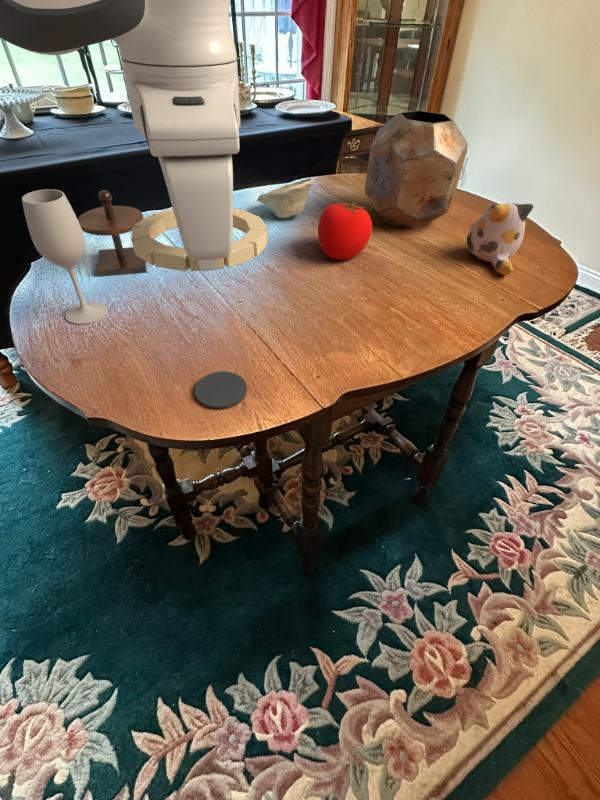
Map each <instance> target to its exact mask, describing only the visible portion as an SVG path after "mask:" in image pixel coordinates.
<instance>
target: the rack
mask: <svg viewBox="0 0 600 800" xmlns="http://www.w3.org/2000/svg"><path fill="white" fill-rule="evenodd" d="M98 200H99V201H100V203H102V206H99V207H96V208H92V209H89V210H87V211H85V212H83V213H82V214H80V215H79V217H77V220H78V222H79V224H80V226H81V229H82V231H83V233H86V234H89V235H93V236H100V237H101V236H105V237H107V236H111V239H112V243H113V246H114V248H104V249H99V250H98V254H97V260H96V266H95V274H96V277H97V278H98V277H107V276H109V277H110V276H120V275H132V274H143V273H148V268H147V267H148V262H146V261H145V260H143V259H141V258H140V257H138V256H137V255H136V254H135V252H134V249H133V246H132V247H123V242H122V239H121V235H122V234H127V233H131V232H132V227H134V225H135V224H137V223H138V222H140V221H141V220H143V219H144V218H145V217H144V215H143V212H142V211H141V210H140V209H139V208H138V209H137V208H135V207H133V206H127V205H113V203H112V200H113V196H112V193H111V192H109V191H108V190H106V189H102V190H100V191H99V192H98Z"/></svg>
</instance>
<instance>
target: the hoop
mask: <svg viewBox="0 0 600 800" xmlns="http://www.w3.org/2000/svg"><path fill="white" fill-rule="evenodd" d="M174 229H178V226H177V222H176V219H175V215H174V211H173V208H171V209H167V210H163V211H159V212H155V213H152V215H149V214H148V216H145V217H144V219H143V220H141V221H140V222H138V223H137V224H135V225H134V227H132V231H131V237H130V238H131V239H130V240H131V244H132V247H133V249H134V252H135V254H136V255H137V256H138V257H140V258H141V259H143V260H145V261H146V262H147V264H148V265H151V266H155V267H156V268H160V269H168V270H173V271H180V272H187V271H188V270H190V272H192V273H193V272H202V271H201V270H200V269H199V267H198V261H197V260H191V259H189V257H188V256H187V254H186V252H185V249H184V247H180V246H173V245H166V244H164V243H161V242H159V240H157V238H158V237H159V236H161V235H162V234H163V233H165V232H167V231H171V230H174ZM233 229H236V230H238V231H241V232H243V233H245V234H244V235H243V236H242V237H241V238H240V239H237V240H235V241H234V240H233V241H232V247H231V252H230V255H229V256H228V257H226V258H220V259H216V269H215V270H223V269H225V267H227V268H232V267H235V266H237V265H240V264H243V263H246V262H249V261H251V260H254V259H255V257H258V256H259V255H260V254H261V253H262V252H263V250H264V249H265V248H266V247H267V246H268V243H269V241H268V240H269V239H268V228H267V226H266V224H265V222H264V220H263V218H261V217H260V216H258V215H256V214H253V213H252V212H249V211H247V210H244V209H239V208H236V207H233Z"/></svg>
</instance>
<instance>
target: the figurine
mask: <svg viewBox="0 0 600 800" xmlns="http://www.w3.org/2000/svg"><path fill="white" fill-rule="evenodd" d="M533 209H534V205H533V204H532V203H521V204H520V203H511V202H510V203H509V202H508V203H502V204H498V203H492V204H490V205H489V207H488V208H487V211H486V213H484V214H483V215H481V217H480V218H478V220H477V221H475V222H473V223H472V224H471V225H470V229H469V230H468V232H467V236H466V245H467V249H468V250H469V251H470V252H471V254H473V256H474V257H476V259H479V260H481V261H482V262H489V263H491V264H492V265H491V266H493V269H494V270H495V271H496V273H498V274H499V275H502V276H509V275H510V274H512V272H513V271H514V270H513V269H514V267H513V265H512V262H511V261H510V259H509V258H511V257H513V256H514V255H515V254H516V253H517V252H518V250H519V248H520V246H521V245H522V243H523V241H524V236H525V230H526V220H527V218H528V216H529V215H530V213H531V212H532V211H533Z"/></svg>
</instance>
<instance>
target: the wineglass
mask: <svg viewBox="0 0 600 800" xmlns="http://www.w3.org/2000/svg"><path fill="white" fill-rule="evenodd" d="M21 202H22V208H23V212H24V217H25V220H26V225H27V229H28V232H29V236H30V238H31V241H32V243H33V246H34V247H35V249H36V251H37V252H38V253H39V255H41V257H43V258H44V259H45V260H46V261H48V262H50V263H51V264H54V265H56V266H58V267H61V268H63V269H65V270H66V271H67V272H68V274H69V276H70V279H71V282H72V284H73V287H74V289H75V292H76V295H77V298H78V300H79V303H78V304H75V305H73V306H71V307H70V308H69V309H67V310H66V312H65V316H64V317H65V319H66V321H67V322H68V323H70V324H73V325H80V326H83V325H89V324H93V323H96V322H98V321H100V320H102V319H103V318H104V317H105V316H106V314H107V312H108V309H107V307H106V305H104V304H103V303H102V302H97V301H85V300H84V299H85V298H84V297H83V294H82V292H81V288H80V285H79V283H78V280H77V277H76V275H75V271H74V269H75V266H76V265H77V264H78V263H79V261H80V260H81V259H82V258H83V255H84V253H85V250H86V238H85V234H84V231H82V229H81V226H80V224H79V222H78V217H77V215H76V213H75V211H74V209H73V207H72V205H71V204H70V202H69V200H68V198H67V195H66V194H65V193H64V192H63V191H61V190H60V189H59V190H58V189H51V188H50V189H48V188H47V189H38V190H34V191H31V192H27V193H25V194H24V195H22V196H21Z"/></svg>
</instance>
